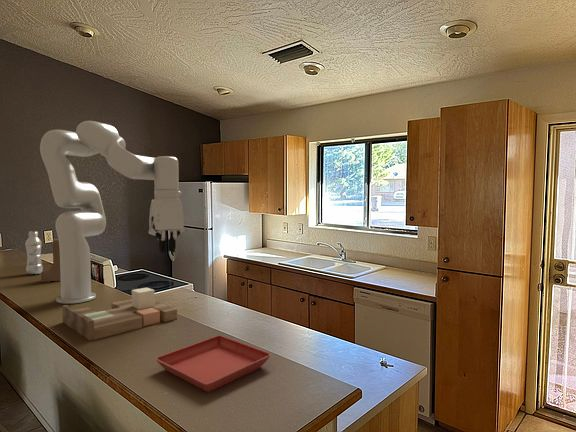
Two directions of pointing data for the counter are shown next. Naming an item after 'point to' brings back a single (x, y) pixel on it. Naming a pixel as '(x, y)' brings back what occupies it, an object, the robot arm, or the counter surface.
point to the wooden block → (54, 271)
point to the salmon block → (149, 316)
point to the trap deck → (111, 319)
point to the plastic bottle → (33, 254)
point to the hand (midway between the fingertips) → (167, 251)
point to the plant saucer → (213, 362)
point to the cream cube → (143, 298)
